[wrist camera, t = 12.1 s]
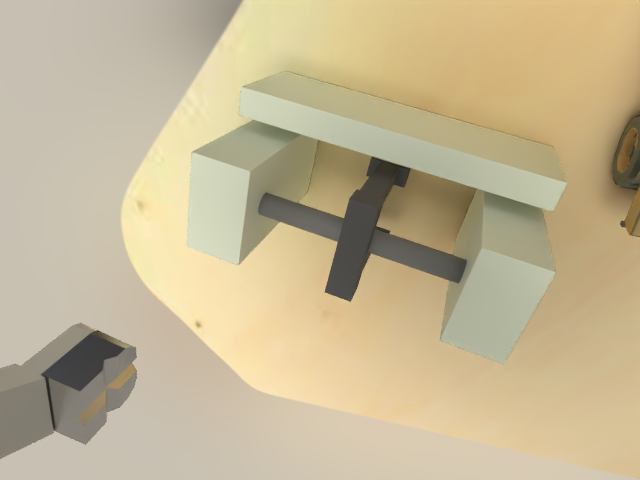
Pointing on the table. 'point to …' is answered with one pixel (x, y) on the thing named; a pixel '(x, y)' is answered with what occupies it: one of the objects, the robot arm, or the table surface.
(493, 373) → the table surface
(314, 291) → the table surface
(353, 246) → the dark grey flanged post
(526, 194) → the lever switch frame
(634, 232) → the toy car
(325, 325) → the table surface
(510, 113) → the table surface
